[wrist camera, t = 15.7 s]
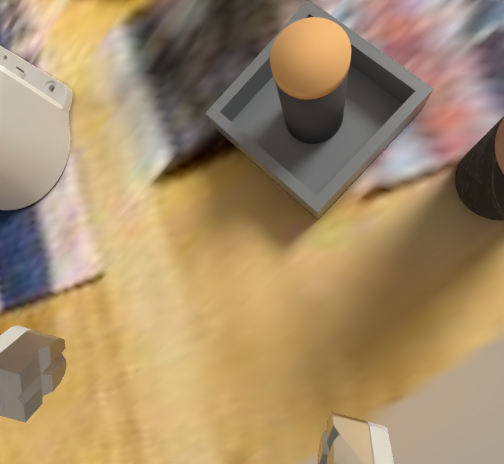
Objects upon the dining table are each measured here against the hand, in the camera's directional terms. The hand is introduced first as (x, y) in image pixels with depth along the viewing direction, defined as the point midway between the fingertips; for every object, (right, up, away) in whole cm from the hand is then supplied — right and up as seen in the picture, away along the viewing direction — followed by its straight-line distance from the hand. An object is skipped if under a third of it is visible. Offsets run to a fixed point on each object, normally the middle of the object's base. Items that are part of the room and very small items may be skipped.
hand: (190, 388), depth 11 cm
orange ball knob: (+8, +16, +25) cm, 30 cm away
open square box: (+8, +16, +25) cm, 31 cm away
